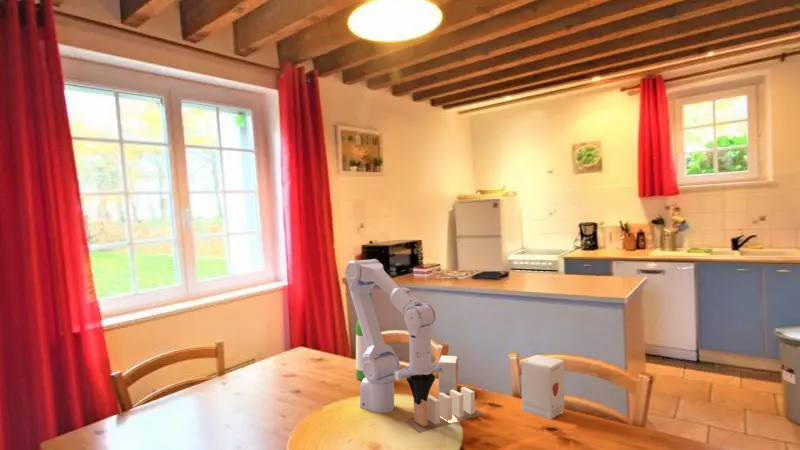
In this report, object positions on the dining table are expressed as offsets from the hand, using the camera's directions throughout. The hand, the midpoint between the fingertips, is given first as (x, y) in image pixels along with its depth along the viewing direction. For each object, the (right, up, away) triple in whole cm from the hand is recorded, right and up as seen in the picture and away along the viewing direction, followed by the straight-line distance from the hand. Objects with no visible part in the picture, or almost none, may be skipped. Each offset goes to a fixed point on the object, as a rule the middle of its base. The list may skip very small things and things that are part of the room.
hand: (420, 402), depth 116 cm
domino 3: (+7, -6, +4) cm, 10 cm away
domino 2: (+3, -6, +2) cm, 7 cm away
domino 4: (+10, -6, +6) cm, 13 cm away
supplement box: (+35, -7, +9) cm, 37 cm away
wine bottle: (-17, -7, +38) cm, 42 cm away
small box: (+10, -7, +25) cm, 28 cm away
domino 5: (+14, -6, +8) cm, 17 cm away
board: (+7, -7, +4) cm, 10 cm away
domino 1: (0, -5, 0) cm, 5 cm away
